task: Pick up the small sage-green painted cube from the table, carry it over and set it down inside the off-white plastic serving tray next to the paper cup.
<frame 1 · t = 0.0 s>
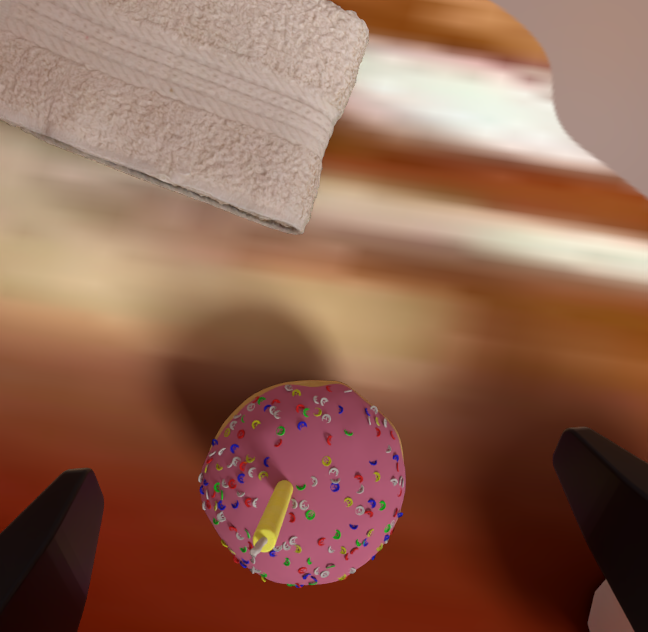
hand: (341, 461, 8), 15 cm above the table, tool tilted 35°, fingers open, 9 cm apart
potted plant: (637, 619, 25), on the table
washcloth: (177, 80, 23), on the table
cupcake: (301, 447, 23), on the table
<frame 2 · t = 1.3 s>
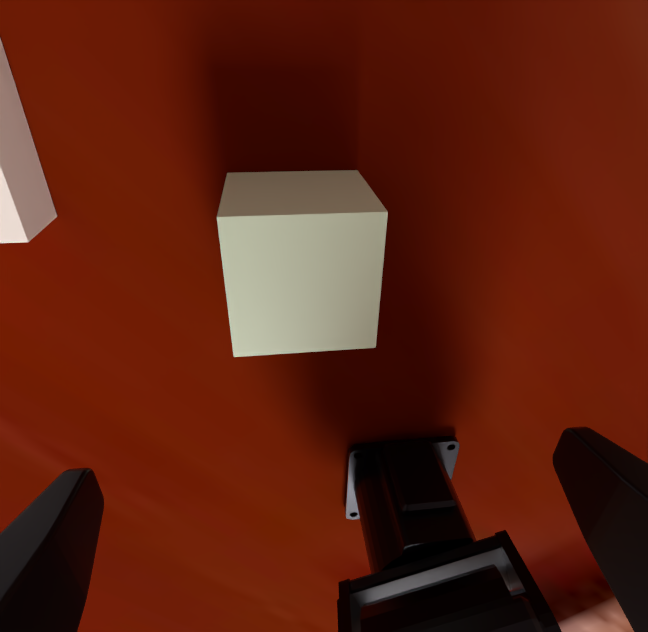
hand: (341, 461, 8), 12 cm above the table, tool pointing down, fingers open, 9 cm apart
cube: (294, 232, 18), on the table
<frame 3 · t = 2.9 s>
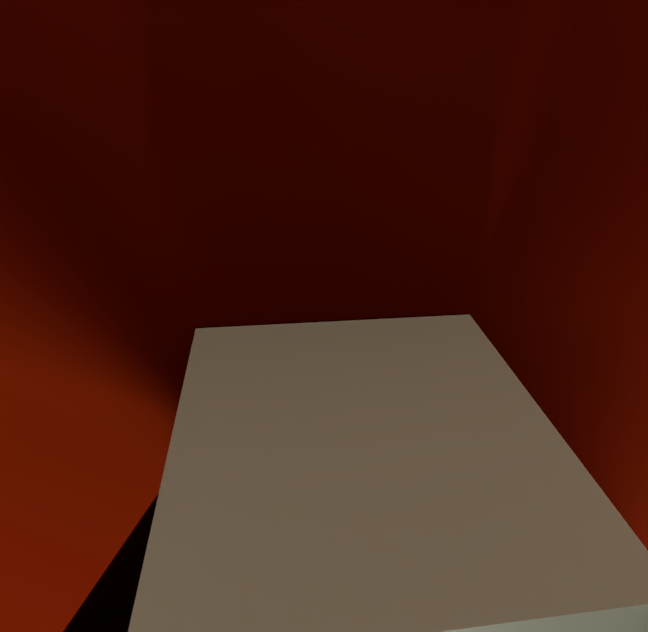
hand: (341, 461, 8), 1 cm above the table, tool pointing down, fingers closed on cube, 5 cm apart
cube: (333, 421, 9), on the table, touching gripper
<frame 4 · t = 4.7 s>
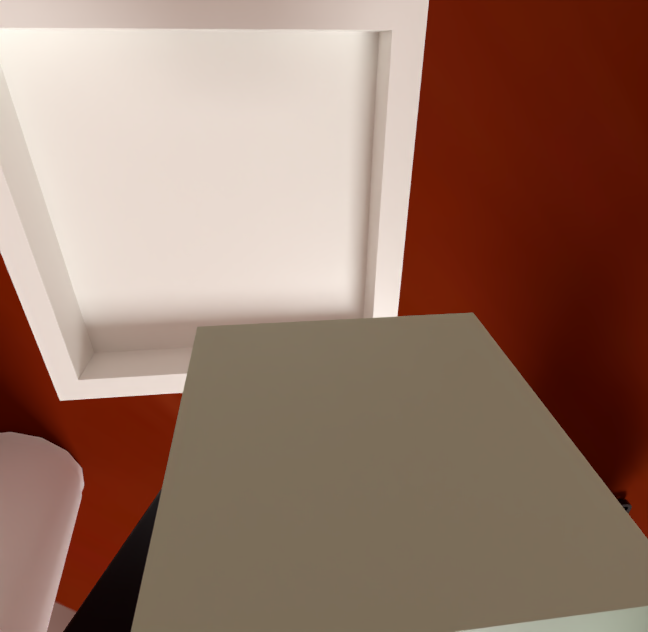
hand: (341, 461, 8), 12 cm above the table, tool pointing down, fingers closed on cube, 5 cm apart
foam cup: (22, 471, 24), on the table
cube: (335, 420, 9), point 11 cm above the table, touching gripper
tray: (216, 211, 18), on the table
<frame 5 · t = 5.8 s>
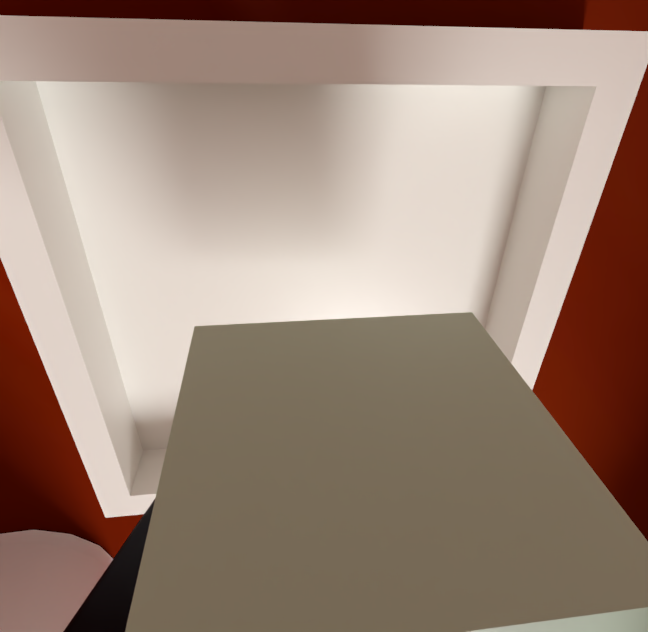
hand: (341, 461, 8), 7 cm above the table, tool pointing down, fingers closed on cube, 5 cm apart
foam cup: (45, 566, 20), on the table
cube: (333, 420, 9), point 6 cm above the table, touching gripper
tray: (306, 289, 14), on the table
when the fingers open (3 cm above the table, at t = 6.8 s): cube drops 2 cm, resting on tray.
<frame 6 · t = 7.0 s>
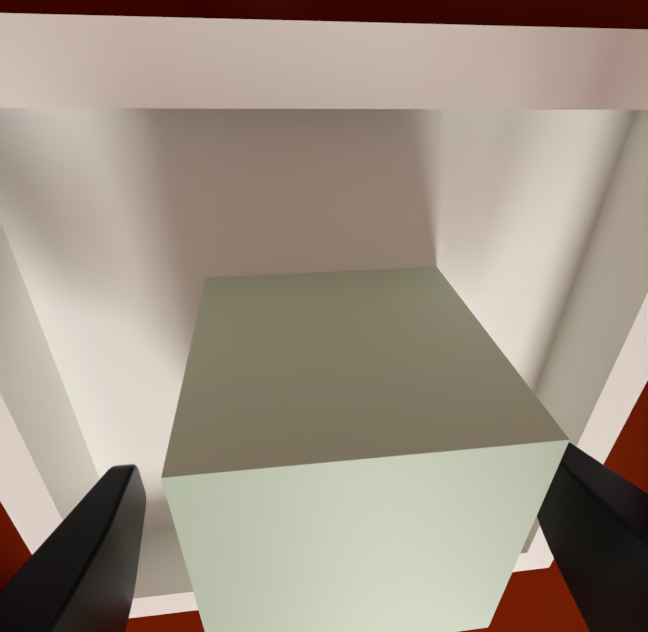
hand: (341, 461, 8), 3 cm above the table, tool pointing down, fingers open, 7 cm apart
cube: (323, 364, 11), point 1 cm above the table, touching tray
tray: (318, 351, 11), on the table
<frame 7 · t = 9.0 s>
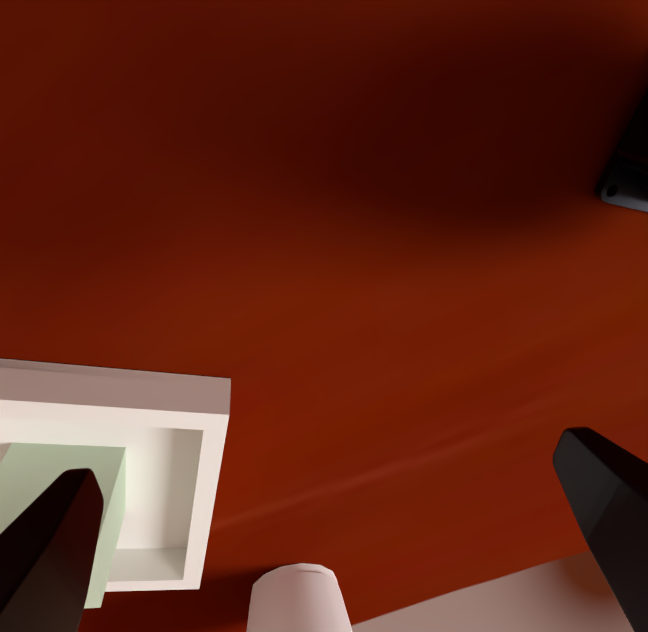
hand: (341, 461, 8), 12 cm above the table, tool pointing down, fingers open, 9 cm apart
foam cup: (294, 585, 33), on the table
cube: (73, 479, 23), point 1 cm above the table, touching tray
tray: (78, 470, 23), on the table
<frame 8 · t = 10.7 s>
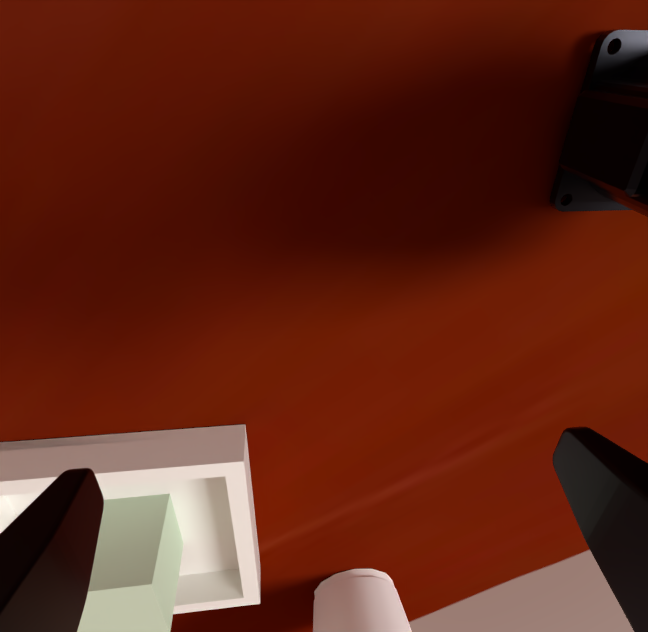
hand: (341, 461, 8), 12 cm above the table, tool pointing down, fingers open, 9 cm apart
foam cup: (353, 588, 35), on the table
cube: (133, 524, 26), point 1 cm above the table, touching tray
tray: (137, 515, 27), on the table
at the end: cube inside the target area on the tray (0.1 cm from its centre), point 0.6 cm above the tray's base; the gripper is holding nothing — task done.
